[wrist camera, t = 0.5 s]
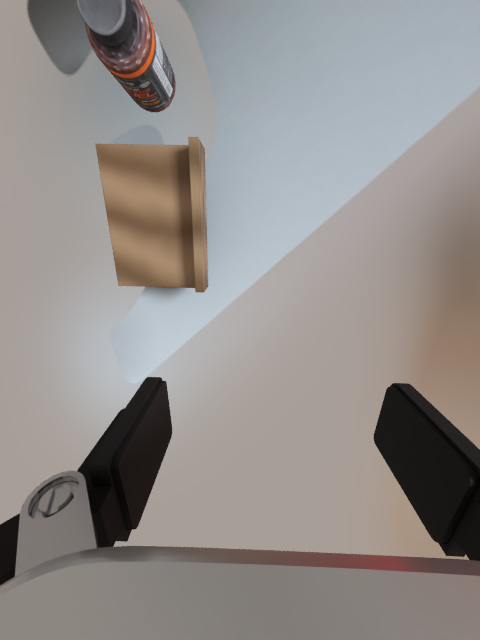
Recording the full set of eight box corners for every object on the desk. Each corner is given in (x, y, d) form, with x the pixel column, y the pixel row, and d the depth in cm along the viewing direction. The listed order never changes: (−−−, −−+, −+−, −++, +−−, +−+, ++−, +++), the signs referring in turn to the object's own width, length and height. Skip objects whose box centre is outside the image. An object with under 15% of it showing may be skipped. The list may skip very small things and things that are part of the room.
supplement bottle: (132, 113, 30) (68, 48, 19) (126, 51, 28) (51, -60, 17) (178, 115, 30) (140, 51, 19) (176, 53, 28) (132, -57, 17)
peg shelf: (123, 160, 32) (81, 135, 24) (210, 161, 31) (198, 137, 23) (138, 277, 37) (108, 289, 29) (213, 279, 37) (203, 292, 29)
